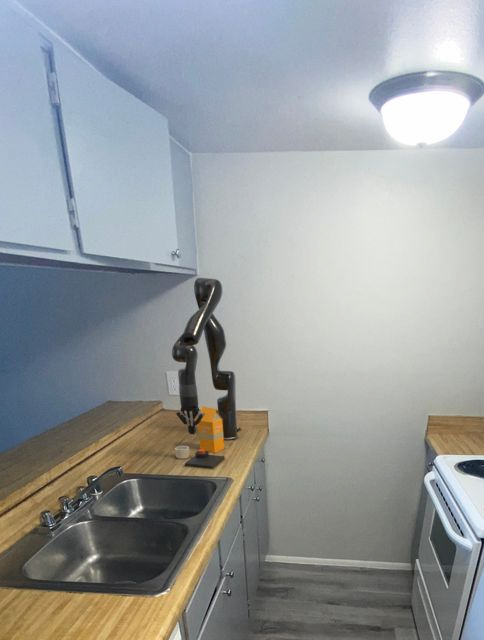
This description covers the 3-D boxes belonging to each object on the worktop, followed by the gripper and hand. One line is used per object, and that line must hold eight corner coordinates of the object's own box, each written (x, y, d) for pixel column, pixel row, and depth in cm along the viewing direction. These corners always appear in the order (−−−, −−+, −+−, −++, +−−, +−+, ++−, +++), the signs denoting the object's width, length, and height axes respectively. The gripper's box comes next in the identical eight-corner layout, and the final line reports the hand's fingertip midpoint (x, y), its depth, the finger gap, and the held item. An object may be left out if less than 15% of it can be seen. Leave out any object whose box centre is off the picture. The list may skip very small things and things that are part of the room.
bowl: (180, 454, 221) (178, 445, 219) (192, 455, 219) (191, 446, 217) (173, 458, 216) (172, 449, 213) (186, 460, 214) (185, 450, 212)
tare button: (200, 452, 216) (200, 448, 215) (206, 452, 215) (206, 449, 215) (197, 454, 214) (197, 450, 213) (203, 454, 213) (203, 451, 212)
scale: (199, 456, 219) (198, 450, 218) (225, 458, 216) (224, 452, 215) (185, 466, 207) (184, 459, 205) (212, 469, 204) (211, 462, 202)
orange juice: (209, 445, 233) (206, 404, 224) (224, 448, 230) (221, 407, 220) (199, 450, 227) (196, 408, 218) (214, 452, 224) (211, 410, 214)
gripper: (206, 393, 205) (209, 432, 213) (178, 391, 207) (182, 430, 216) (199, 396, 198) (202, 437, 206) (170, 395, 201) (174, 435, 209)
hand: (192, 433), depth 211 cm, fingers closed
